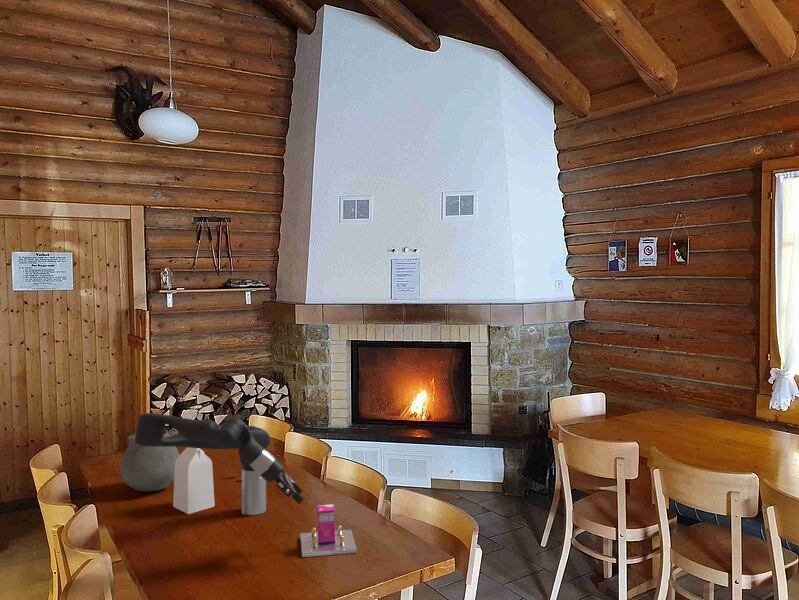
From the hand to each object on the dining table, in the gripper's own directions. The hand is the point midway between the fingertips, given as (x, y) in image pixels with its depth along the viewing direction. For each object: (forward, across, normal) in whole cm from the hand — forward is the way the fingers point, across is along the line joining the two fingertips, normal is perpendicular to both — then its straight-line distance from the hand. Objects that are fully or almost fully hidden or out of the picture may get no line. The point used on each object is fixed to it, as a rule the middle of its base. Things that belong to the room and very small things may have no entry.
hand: (301, 497), depth 211 cm
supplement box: (+17, -1, -5) cm, 18 cm away
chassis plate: (+19, 0, -6) cm, 19 cm away
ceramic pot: (-31, -72, -56) cm, 97 cm away
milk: (-16, -47, -42) cm, 65 cm away
